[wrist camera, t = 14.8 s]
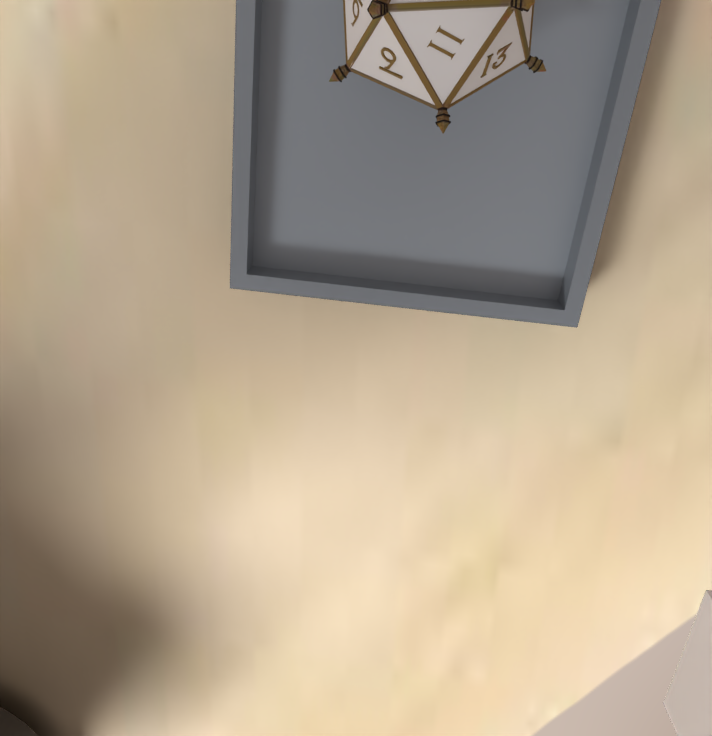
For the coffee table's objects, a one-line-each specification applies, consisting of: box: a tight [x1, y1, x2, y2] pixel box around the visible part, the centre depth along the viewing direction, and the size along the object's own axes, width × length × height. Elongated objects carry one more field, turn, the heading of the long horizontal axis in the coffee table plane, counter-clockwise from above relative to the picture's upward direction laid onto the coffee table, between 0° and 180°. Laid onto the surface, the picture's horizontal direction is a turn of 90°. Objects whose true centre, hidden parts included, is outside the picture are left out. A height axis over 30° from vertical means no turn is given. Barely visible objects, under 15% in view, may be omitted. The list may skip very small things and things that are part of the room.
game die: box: [329, 0, 546, 134], centre depth 25 cm, size 9×8×10 cm
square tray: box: [230, 0, 661, 327], centre depth 31 cm, size 17×17×3 cm
